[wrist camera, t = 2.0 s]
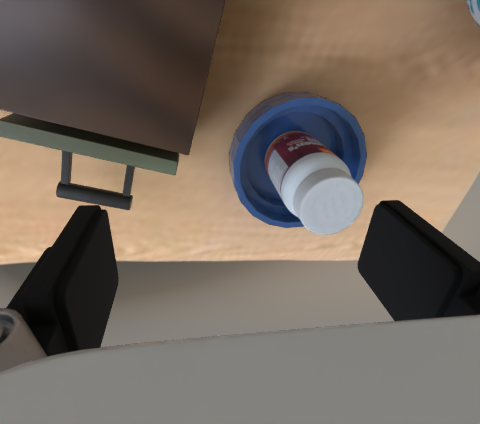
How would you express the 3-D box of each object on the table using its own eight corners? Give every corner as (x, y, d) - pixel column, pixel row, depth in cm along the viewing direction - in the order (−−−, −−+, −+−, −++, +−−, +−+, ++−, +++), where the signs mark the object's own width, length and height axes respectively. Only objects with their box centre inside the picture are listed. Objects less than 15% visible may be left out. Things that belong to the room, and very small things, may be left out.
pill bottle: (322, 128, 32) (380, 167, 22) (314, 182, 35) (362, 238, 25) (264, 129, 31) (298, 170, 22) (261, 185, 34) (290, 243, 25)
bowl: (214, 197, 35) (217, 214, 31) (251, 73, 29) (259, 77, 26) (318, 219, 38) (331, 236, 35) (369, 112, 33) (391, 121, 29)
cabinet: (188, 127, 31) (188, 155, 23) (36, 86, 27) (-22, 104, 20) (233, -68, 24) (252, -115, 17) (37, -156, 20) (-50, -267, 13)
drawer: (167, 196, 33) (163, 230, 27) (38, 169, 30) (1, 202, 24) (215, -23, 24) (223, -42, 19) (41, -93, 21) (-15, -143, 15)
